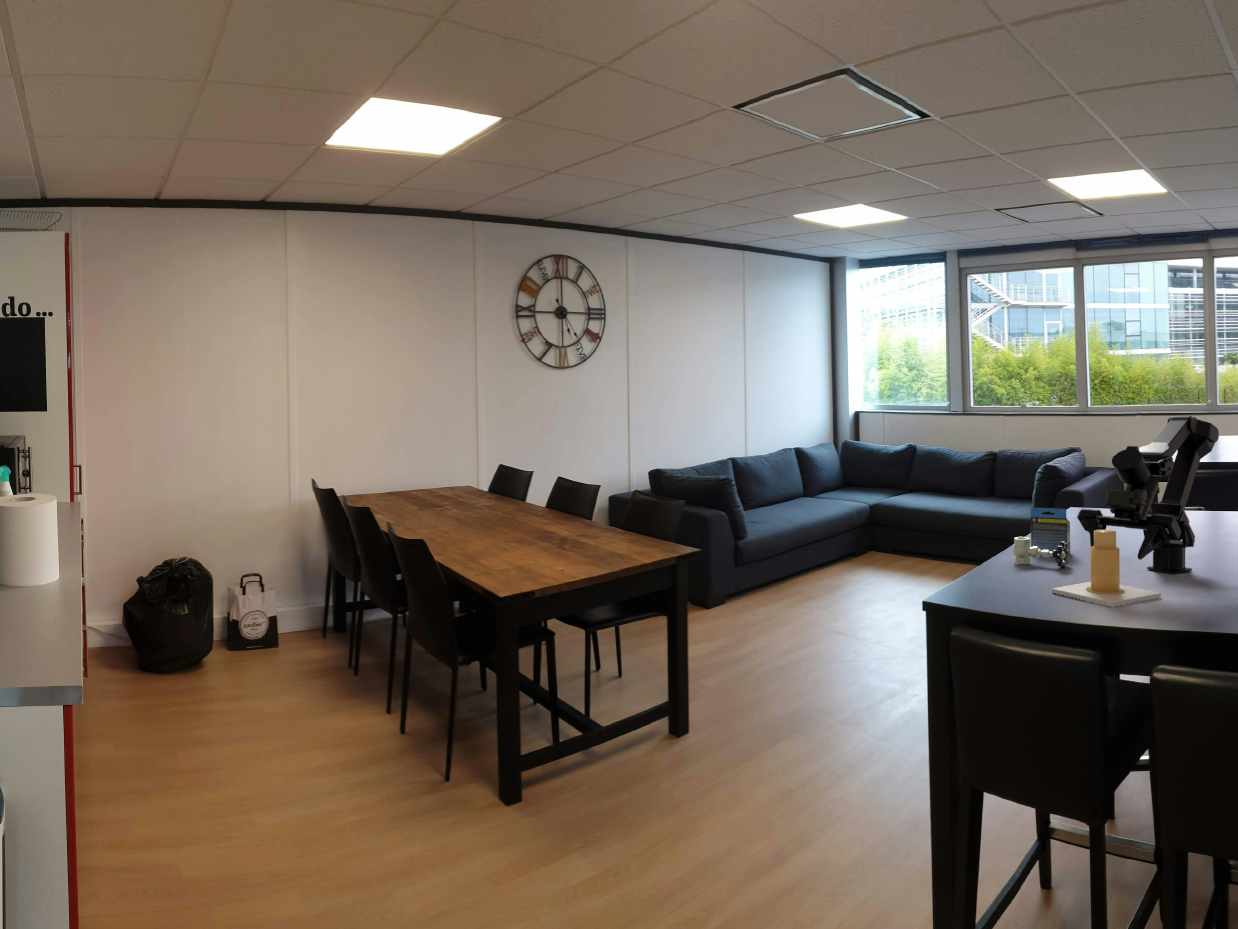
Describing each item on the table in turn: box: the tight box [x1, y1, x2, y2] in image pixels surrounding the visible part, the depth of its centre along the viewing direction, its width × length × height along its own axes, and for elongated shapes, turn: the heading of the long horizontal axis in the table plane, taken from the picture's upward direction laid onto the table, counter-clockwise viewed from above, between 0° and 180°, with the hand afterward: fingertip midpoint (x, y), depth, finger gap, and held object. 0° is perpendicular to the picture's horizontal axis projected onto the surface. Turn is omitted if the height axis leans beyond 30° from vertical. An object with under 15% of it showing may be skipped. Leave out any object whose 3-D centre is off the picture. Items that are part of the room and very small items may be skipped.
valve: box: [1012, 536, 1070, 569], centre depth 199 cm, size 7×7×12 cm
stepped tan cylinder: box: [1090, 529, 1121, 593], centre depth 169 cm, size 5×5×12 cm
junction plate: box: [1051, 581, 1162, 608], centre depth 169 cm, size 14×14×1 cm
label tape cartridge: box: [1029, 506, 1071, 554], centre depth 213 cm, size 9×4×12 cm, turn 48°
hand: (1115, 555), depth 171 cm, fingers open, 9 cm apart
